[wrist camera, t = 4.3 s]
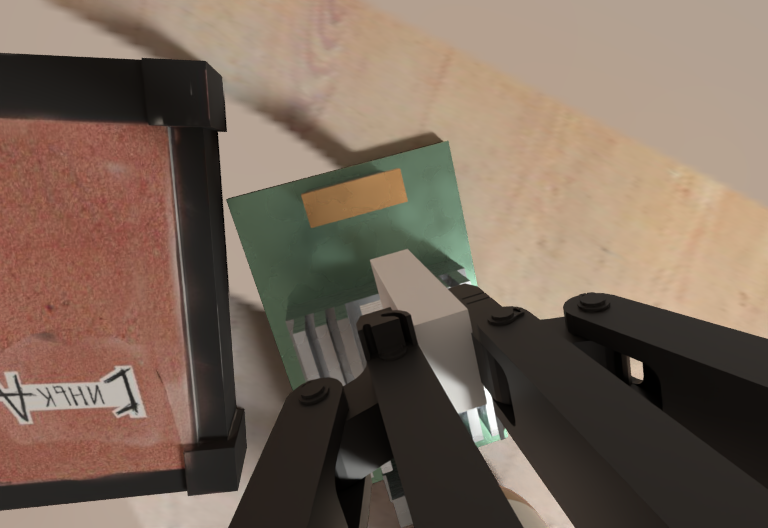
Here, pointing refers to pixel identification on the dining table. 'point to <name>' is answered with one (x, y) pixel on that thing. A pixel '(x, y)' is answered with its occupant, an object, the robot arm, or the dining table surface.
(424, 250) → the heatsink
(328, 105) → the dining table surface
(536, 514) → the vase
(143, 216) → the brown labeled slab
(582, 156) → the dining table surface
